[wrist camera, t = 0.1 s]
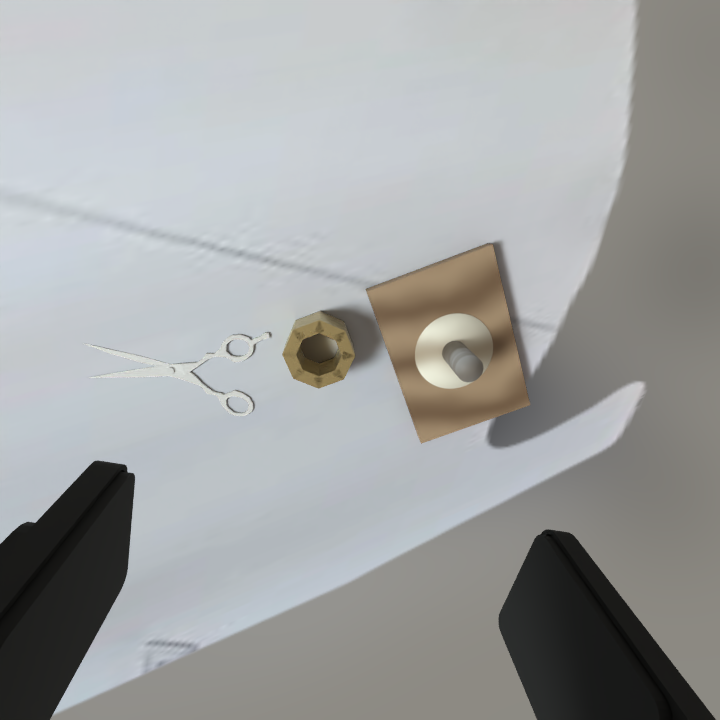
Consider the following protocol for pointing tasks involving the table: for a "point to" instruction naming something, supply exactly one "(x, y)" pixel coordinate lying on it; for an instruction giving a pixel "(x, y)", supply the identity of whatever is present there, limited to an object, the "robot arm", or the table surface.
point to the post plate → (429, 304)
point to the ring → (310, 369)
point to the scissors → (188, 369)
